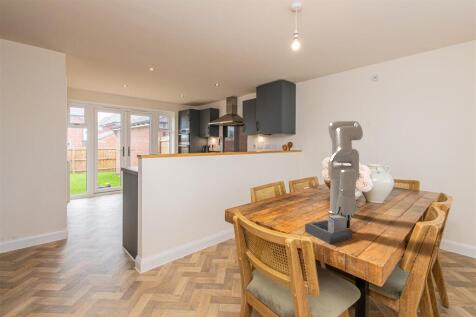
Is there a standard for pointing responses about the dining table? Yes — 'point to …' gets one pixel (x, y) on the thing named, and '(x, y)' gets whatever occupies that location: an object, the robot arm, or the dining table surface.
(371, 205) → the dining table surface
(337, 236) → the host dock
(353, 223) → the dining table surface
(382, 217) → the dining table surface
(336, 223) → the medicine box
